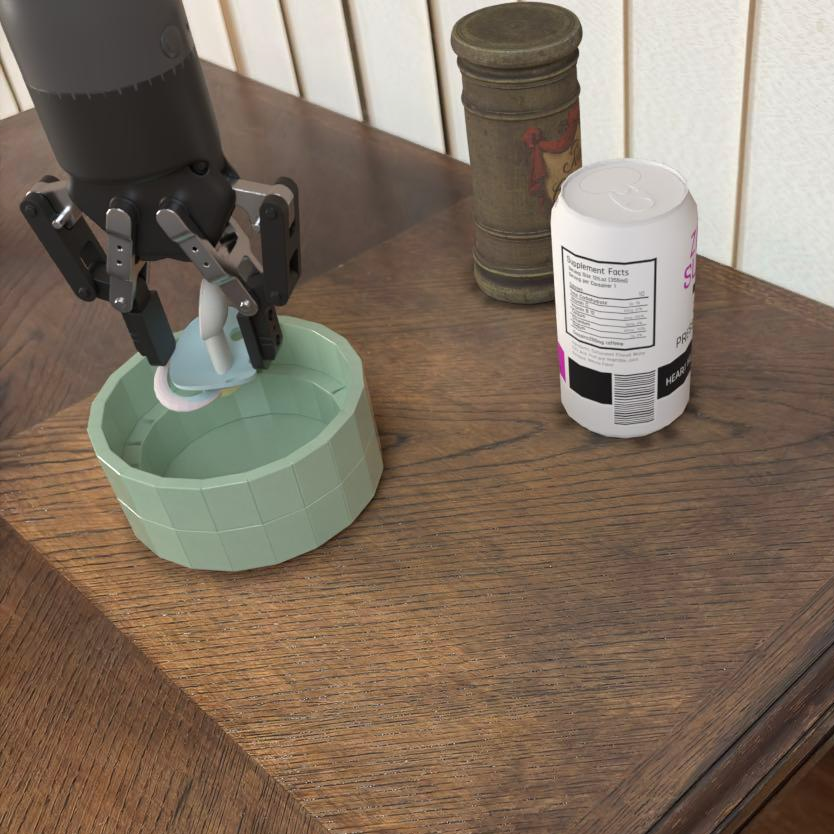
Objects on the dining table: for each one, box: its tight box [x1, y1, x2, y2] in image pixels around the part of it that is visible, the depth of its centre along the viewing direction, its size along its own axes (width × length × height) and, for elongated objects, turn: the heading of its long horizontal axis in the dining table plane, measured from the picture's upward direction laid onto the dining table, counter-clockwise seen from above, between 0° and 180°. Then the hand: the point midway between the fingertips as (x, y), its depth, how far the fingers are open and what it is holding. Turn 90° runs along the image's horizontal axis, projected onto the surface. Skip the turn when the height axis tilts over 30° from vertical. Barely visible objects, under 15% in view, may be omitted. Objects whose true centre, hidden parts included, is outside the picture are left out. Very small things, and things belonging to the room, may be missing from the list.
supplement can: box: [551, 157, 699, 439], centre depth 64 cm, size 8×8×15 cm
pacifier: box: [154, 278, 256, 412], centre depth 58 cm, size 7×6×6 cm
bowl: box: [86, 314, 384, 573], centre depth 63 cm, size 16×16×7 cm
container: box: [450, 1, 584, 305], centre depth 74 cm, size 9×9×18 cm
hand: (214, 358), depth 59 cm, fingers closed on pacifier, 5 cm apart
